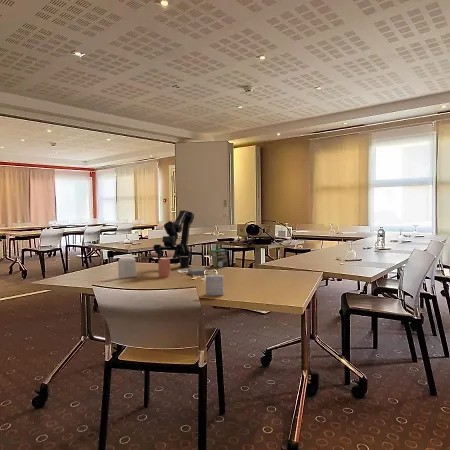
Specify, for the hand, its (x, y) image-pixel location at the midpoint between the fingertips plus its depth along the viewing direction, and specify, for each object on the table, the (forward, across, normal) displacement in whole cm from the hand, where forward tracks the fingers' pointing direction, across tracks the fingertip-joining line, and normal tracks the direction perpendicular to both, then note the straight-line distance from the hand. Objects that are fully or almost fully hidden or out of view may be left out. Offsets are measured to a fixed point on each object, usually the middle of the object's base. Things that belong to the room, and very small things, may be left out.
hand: (165, 259), depth 229 cm
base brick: (+1, +17, +12) cm, 21 cm away
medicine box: (+39, +42, -24) cm, 62 cm away
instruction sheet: (-6, +8, +19) cm, 22 cm away
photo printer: (+12, -21, +2) cm, 25 cm away
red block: (+8, 0, +5) cm, 10 cm away
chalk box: (-19, +23, +32) cm, 44 cm away
